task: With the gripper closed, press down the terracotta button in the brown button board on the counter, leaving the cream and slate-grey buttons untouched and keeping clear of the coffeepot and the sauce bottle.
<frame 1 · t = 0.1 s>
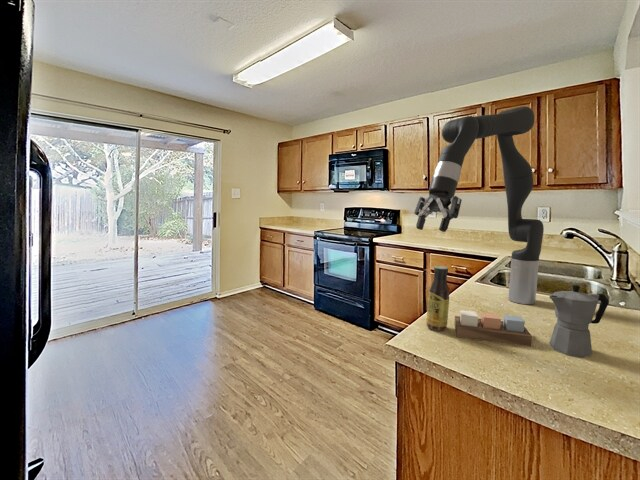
hand: (430, 230, 95), 31 cm above the counter, tool tilted 20°, fingers open, 8 cm apart
sauce bottle: (436, 328, 100), on the counter
terracotta button: (490, 322, 95), point 4 cm above the counter, slide at 0.0 cm
cream button: (468, 319, 97), point 4 cm above the counter, slide at 0.0 cm
brown button board: (489, 334, 95), on the counter
slate button: (513, 324, 93), point 4 cm above the counter, slide at 0.0 cm
coffeepot: (573, 350, 86), on the counter
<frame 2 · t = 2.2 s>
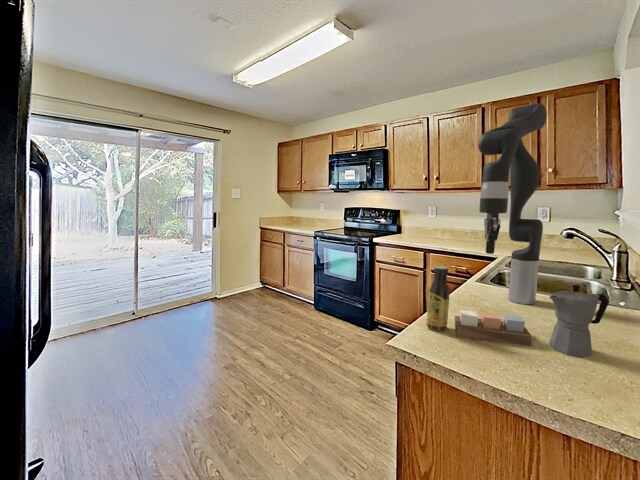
hand: (489, 253, 98), 24 cm above the counter, tool pointing down, fingers closed
nothing on the counter moved.
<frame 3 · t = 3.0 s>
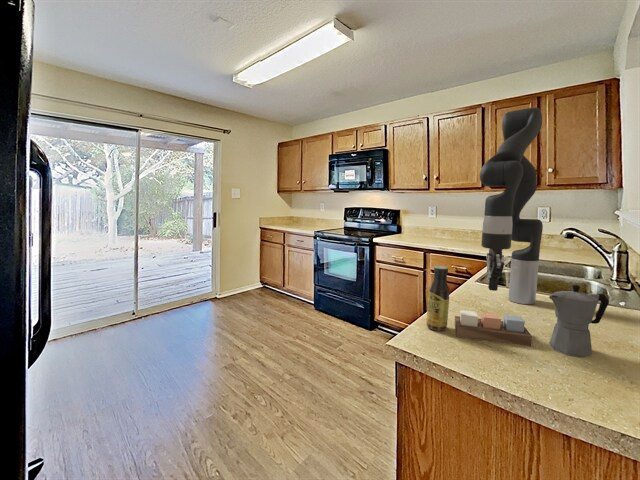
hand: (492, 289, 93), 14 cm above the counter, tool pointing down, fingers closed
nothing on the counter moved.
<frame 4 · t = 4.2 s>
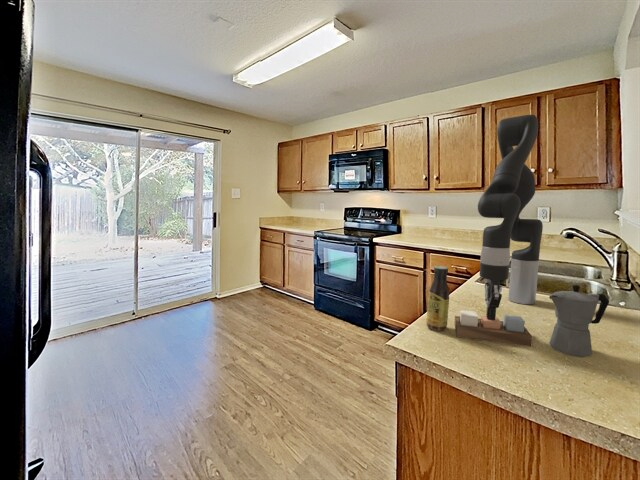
hand: (490, 318, 94), 5 cm above the counter, tool pointing down, fingers closed
terracotta button: (490, 325, 95), point 3 cm above the counter, slide at -1.0 cm, touching gripper
everything else where it was.
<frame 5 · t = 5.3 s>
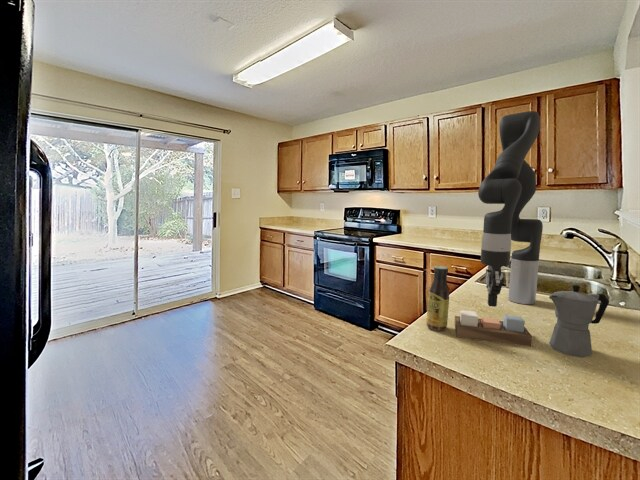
hand: (491, 305, 94), 9 cm above the counter, tool pointing down, fingers closed
terracotta button: (490, 326, 95), point 3 cm above the counter, slide at -1.4 cm
everything else where it was.
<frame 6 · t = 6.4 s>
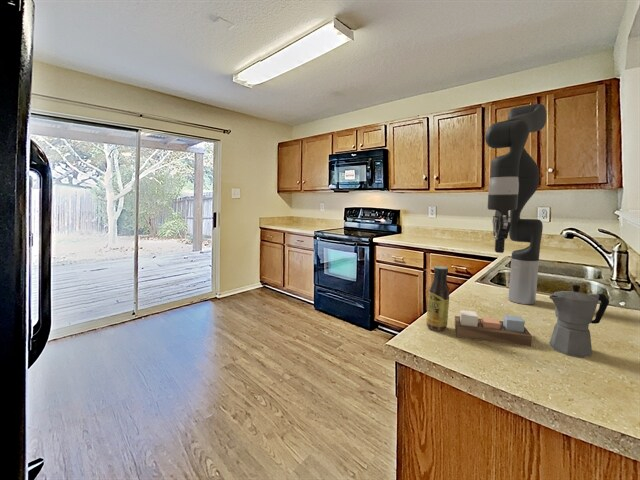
hand: (499, 252, 94), 25 cm above the counter, tool pointing down, fingers closed
nothing on the counter moved.
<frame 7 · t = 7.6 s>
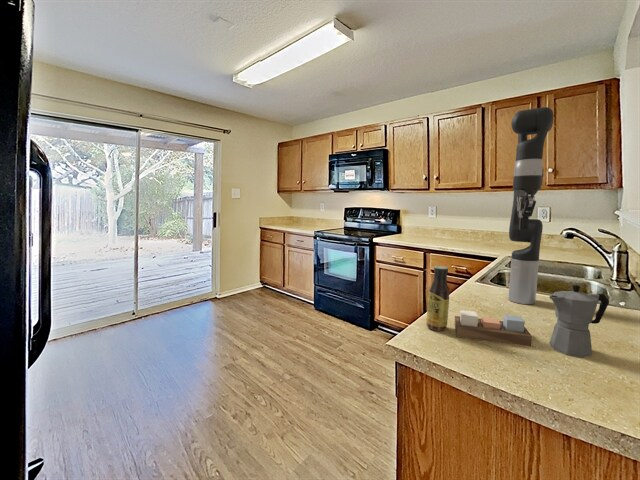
hand: (523, 229, 101), 31 cm above the counter, tool pointing down, fingers closed
nothing on the counter moved.
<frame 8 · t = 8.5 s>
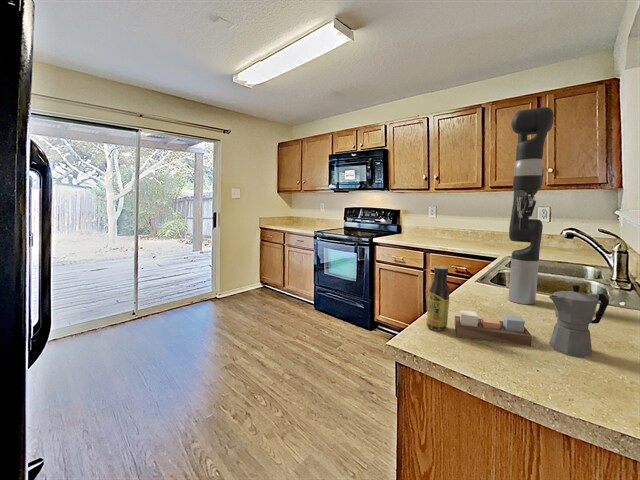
hand: (523, 229, 101), 31 cm above the counter, tool pointing down, fingers closed
nothing on the counter moved.
at the end: terracotta button slide at -1.4 cm; cream button slide at 0.0 cm; slate button slide at 0.0 cm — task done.
